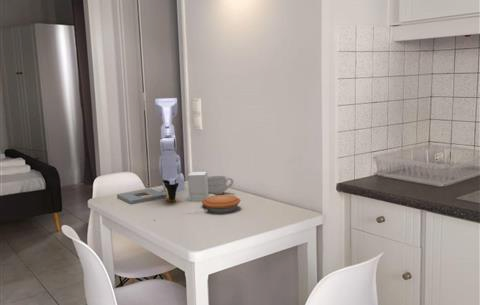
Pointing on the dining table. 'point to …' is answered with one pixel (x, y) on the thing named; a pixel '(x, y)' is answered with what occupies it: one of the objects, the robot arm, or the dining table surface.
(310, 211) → the dining table surface
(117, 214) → the dining table surface
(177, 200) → the tan flat square
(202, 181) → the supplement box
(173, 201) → the brass peg
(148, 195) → the hole board
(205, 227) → the dining table surface
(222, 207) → the pie
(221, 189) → the teacup
